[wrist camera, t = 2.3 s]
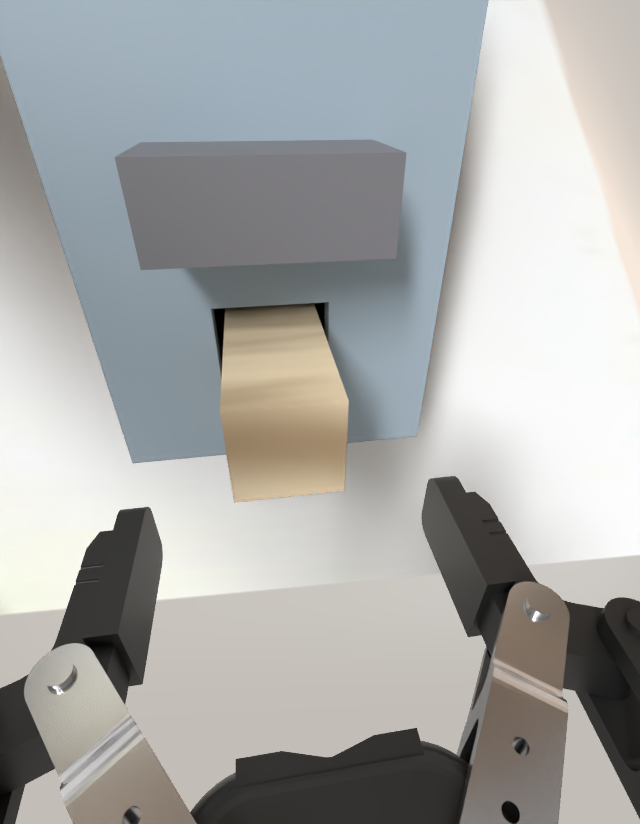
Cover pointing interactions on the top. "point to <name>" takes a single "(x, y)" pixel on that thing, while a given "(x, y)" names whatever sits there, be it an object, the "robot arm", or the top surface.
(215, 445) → the lid
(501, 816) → the robot arm
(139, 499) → the top surface
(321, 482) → the beech key
